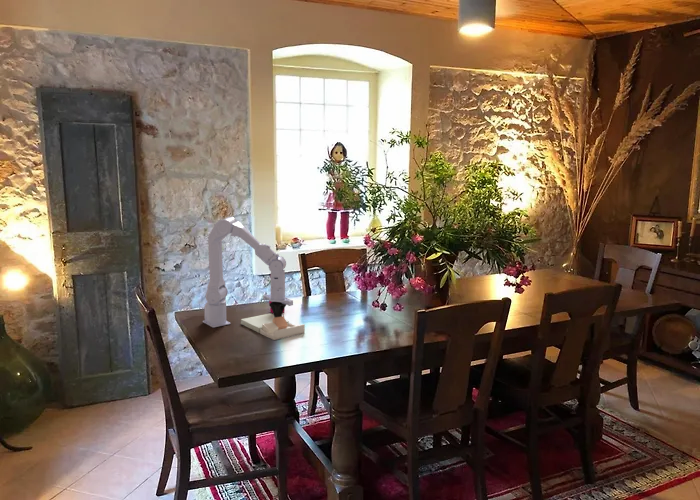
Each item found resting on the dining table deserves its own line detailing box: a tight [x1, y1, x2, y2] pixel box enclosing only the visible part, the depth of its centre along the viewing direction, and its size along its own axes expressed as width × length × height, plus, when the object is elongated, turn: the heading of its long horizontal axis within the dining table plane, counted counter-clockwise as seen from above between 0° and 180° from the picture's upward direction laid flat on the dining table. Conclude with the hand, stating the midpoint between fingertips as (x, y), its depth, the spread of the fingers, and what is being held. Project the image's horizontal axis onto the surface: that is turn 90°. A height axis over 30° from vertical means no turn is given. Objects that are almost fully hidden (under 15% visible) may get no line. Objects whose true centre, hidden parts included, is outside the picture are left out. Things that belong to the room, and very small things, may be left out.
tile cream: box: [262, 322, 278, 334], centre depth 219 cm, size 4×4×2 cm
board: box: [240, 312, 290, 334], centre depth 229 cm, size 14×14×2 cm
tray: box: [259, 322, 306, 341], centre depth 219 cm, size 10×14×4 cm
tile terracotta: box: [272, 315, 288, 329], centre depth 223 cm, size 4×4×2 cm
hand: (278, 319), depth 226 cm, fingers closed
